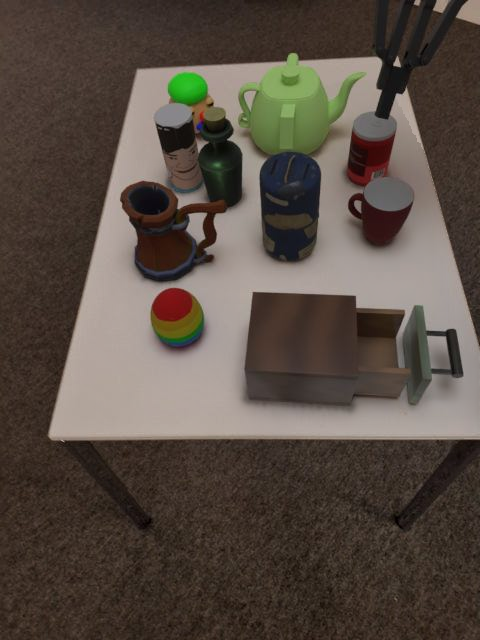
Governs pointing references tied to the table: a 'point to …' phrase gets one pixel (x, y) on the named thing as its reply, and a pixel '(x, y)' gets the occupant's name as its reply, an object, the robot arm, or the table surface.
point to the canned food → (370, 147)
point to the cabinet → (302, 348)
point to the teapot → (292, 108)
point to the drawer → (381, 353)
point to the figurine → (191, 95)
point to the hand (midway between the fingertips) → (381, 117)
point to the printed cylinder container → (179, 146)
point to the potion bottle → (220, 158)
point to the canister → (290, 204)
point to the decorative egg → (177, 317)
